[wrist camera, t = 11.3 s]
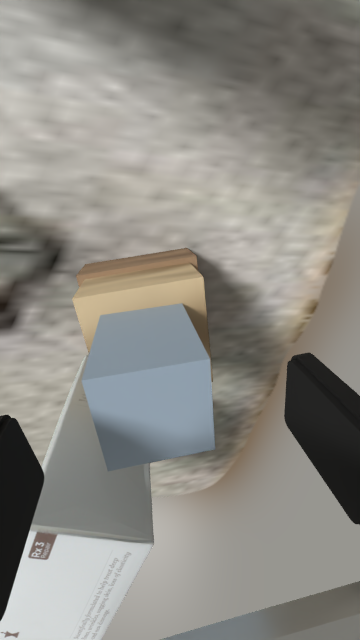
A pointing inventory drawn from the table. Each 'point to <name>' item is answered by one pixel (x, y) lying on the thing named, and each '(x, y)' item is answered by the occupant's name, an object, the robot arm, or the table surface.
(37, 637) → the skincare box
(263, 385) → the table surface
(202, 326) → the oak slab
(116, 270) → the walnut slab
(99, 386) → the blue block
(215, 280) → the table surface
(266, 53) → the table surface
